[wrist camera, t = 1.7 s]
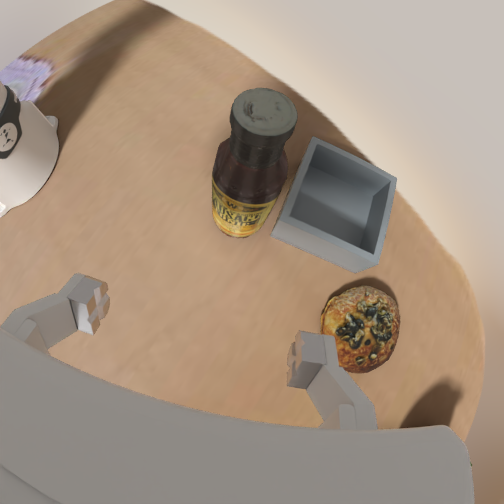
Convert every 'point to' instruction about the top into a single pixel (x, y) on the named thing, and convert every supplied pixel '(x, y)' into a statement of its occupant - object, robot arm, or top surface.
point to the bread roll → (362, 327)
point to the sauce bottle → (252, 161)
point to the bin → (337, 207)
